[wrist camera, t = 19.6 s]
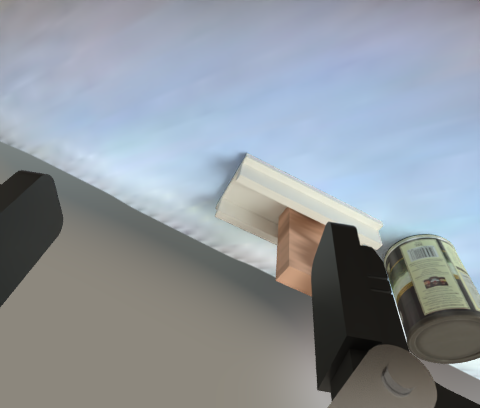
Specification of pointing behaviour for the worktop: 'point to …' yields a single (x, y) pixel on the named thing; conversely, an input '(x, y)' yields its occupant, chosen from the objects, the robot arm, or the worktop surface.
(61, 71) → the worktop surface
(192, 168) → the worktop surface
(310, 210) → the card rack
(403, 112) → the worktop surface
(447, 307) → the coffee can
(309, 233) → the wooden card
